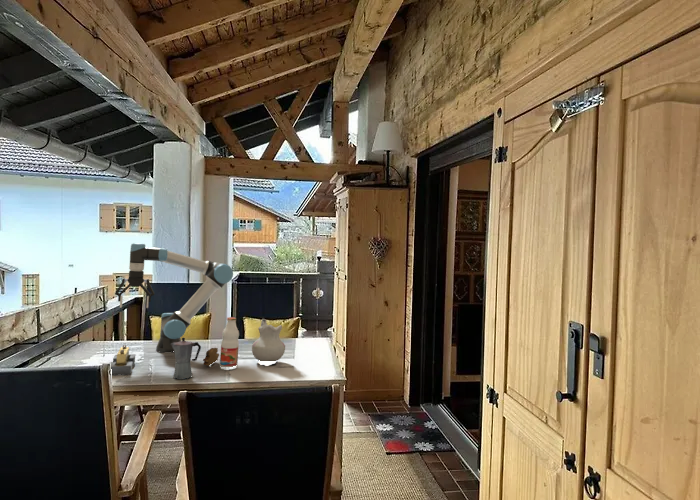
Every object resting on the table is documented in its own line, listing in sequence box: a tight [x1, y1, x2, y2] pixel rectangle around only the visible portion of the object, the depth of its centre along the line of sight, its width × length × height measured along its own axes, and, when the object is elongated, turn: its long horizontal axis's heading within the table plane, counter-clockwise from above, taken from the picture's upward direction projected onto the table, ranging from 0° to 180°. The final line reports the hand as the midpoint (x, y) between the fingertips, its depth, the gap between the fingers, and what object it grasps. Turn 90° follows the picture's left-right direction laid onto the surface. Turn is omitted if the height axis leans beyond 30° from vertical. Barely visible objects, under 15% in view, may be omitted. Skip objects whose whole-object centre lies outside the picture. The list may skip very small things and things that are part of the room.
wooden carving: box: [202, 347, 220, 367], centre depth 244 cm, size 16×5×10 cm, turn 178°
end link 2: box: [109, 361, 133, 377], centre depth 221 cm, size 8×10×4 cm
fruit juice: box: [219, 316, 240, 367], centre depth 242 cm, size 9×9×28 cm
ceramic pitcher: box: [251, 318, 286, 361], centre depth 257 cm, size 22×20×25 cm
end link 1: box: [112, 353, 136, 367], centre depth 235 cm, size 8×10×4 cm
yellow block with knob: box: [116, 344, 130, 366], centre depth 228 cm, size 15×4×10 cm, turn 21°
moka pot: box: [170, 337, 202, 380], centre depth 221 cm, size 10×15×20 cm, turn 95°
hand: (134, 307), depth 249 cm, fingers open, 13 cm apart
